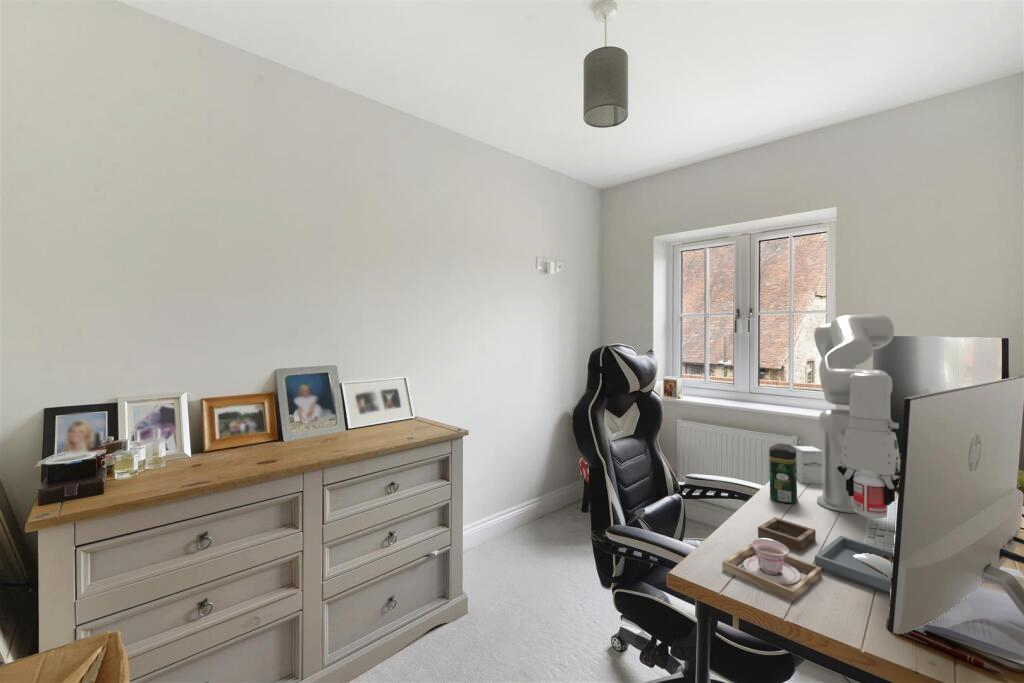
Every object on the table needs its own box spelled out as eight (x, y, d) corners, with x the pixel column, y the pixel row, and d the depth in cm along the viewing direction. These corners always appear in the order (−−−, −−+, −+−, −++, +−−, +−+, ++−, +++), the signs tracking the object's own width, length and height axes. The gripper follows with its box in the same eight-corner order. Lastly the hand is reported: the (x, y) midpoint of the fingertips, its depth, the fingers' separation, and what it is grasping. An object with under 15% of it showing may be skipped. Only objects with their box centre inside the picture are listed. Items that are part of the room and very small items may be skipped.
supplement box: (801, 483, 162) (801, 450, 162) (792, 477, 170) (792, 445, 169) (823, 484, 161) (823, 450, 161) (813, 478, 168) (812, 445, 168)
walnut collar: (774, 527, 128) (774, 517, 128) (815, 540, 119) (815, 529, 119) (758, 537, 122) (757, 527, 121) (799, 552, 113) (799, 541, 113)
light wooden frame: (753, 549, 115) (753, 542, 115) (821, 576, 102) (821, 567, 102) (722, 569, 106) (722, 561, 106) (793, 601, 93) (793, 592, 93)
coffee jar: (771, 492, 155) (771, 440, 154) (798, 497, 150) (797, 443, 149) (767, 500, 147) (767, 446, 147) (795, 506, 142) (794, 450, 142)
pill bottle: (890, 514, 103) (890, 468, 102) (881, 521, 99) (881, 473, 99) (859, 506, 108) (858, 462, 107) (849, 512, 104) (848, 467, 104)
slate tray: (840, 546, 116) (840, 535, 116) (927, 574, 102) (927, 562, 102) (815, 568, 106) (814, 555, 106) (907, 602, 92) (907, 588, 92)
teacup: (734, 558, 111) (734, 534, 111) (782, 558, 111) (782, 534, 110) (758, 585, 99) (757, 559, 99) (812, 586, 99) (812, 559, 98)
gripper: (922, 428, 98) (922, 506, 99) (832, 417, 112) (832, 485, 113) (914, 433, 94) (914, 515, 94) (821, 421, 108) (821, 492, 108)
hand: (869, 498), depth 103 cm, fingers closed on pill bottle, 6 cm apart
